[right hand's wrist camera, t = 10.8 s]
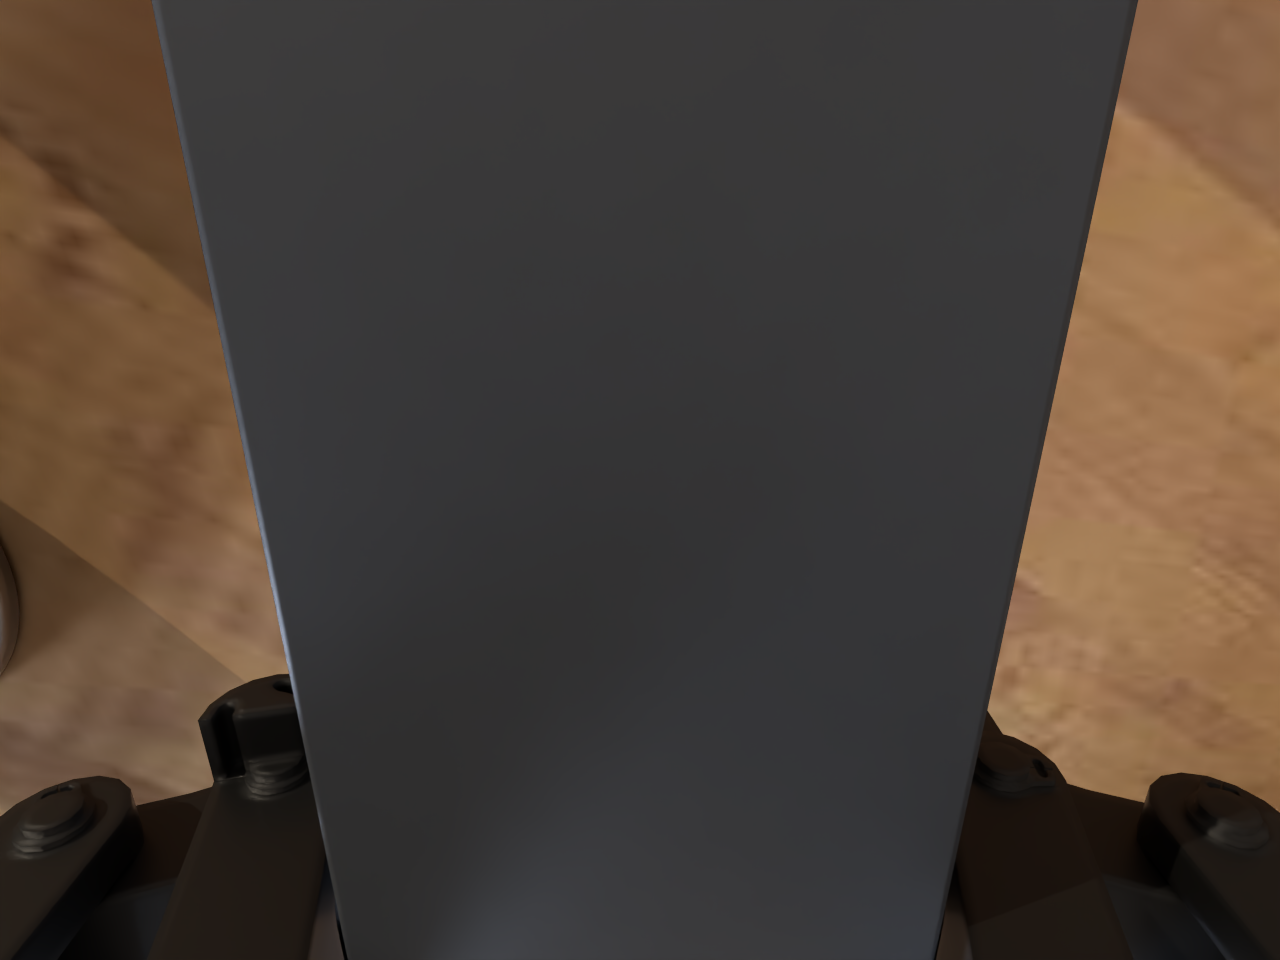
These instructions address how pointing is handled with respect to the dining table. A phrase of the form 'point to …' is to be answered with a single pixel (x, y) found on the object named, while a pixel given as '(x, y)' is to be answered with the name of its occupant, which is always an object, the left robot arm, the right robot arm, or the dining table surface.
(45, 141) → the dining table surface
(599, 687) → the bar
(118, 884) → the right robot arm
